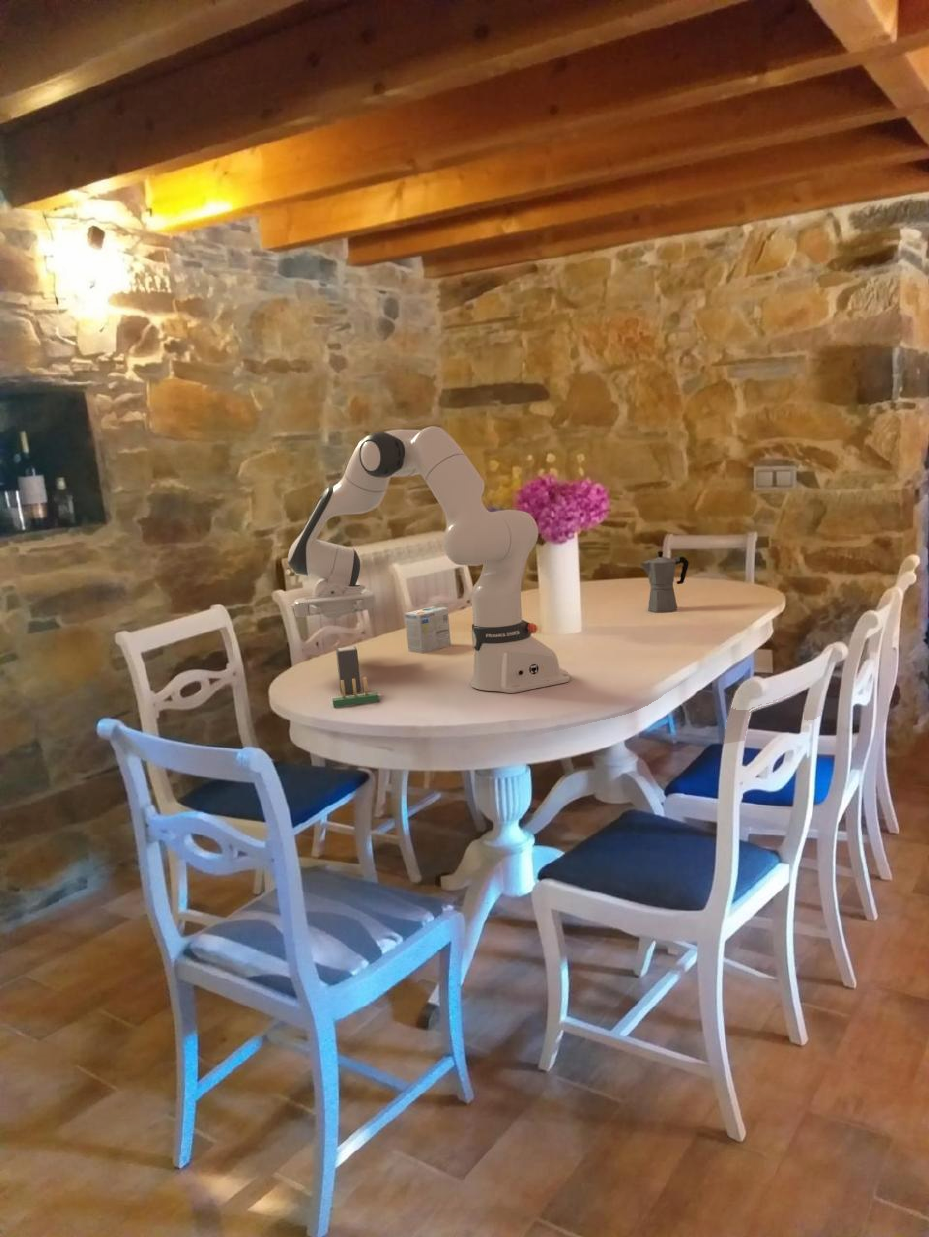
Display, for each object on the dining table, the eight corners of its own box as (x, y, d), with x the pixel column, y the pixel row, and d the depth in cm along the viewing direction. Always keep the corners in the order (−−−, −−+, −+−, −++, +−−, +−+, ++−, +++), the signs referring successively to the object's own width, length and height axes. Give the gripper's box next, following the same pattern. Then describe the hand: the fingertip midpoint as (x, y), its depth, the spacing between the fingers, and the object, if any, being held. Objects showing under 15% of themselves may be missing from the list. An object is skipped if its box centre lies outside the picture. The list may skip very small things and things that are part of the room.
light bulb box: (435, 643, 262) (432, 605, 260) (452, 645, 257) (449, 607, 255) (406, 651, 254) (403, 612, 252) (423, 653, 250) (419, 614, 248)
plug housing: (359, 688, 219) (355, 645, 217) (361, 692, 215) (357, 649, 213) (340, 690, 218) (335, 648, 216) (341, 694, 214) (337, 651, 212)
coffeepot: (647, 614, 278) (645, 554, 275) (636, 609, 287) (634, 551, 284) (696, 609, 280) (694, 549, 277) (683, 604, 290) (681, 546, 286)
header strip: (377, 699, 208) (375, 675, 207) (379, 701, 206) (376, 677, 205) (333, 705, 206) (330, 681, 205) (333, 707, 204) (331, 683, 203)
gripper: (289, 592, 236) (292, 600, 222) (370, 584, 240) (377, 592, 227) (292, 616, 237) (295, 626, 224) (372, 608, 241) (379, 617, 228)
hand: (337, 609), depth 225 cm, fingers open, 8 cm apart
